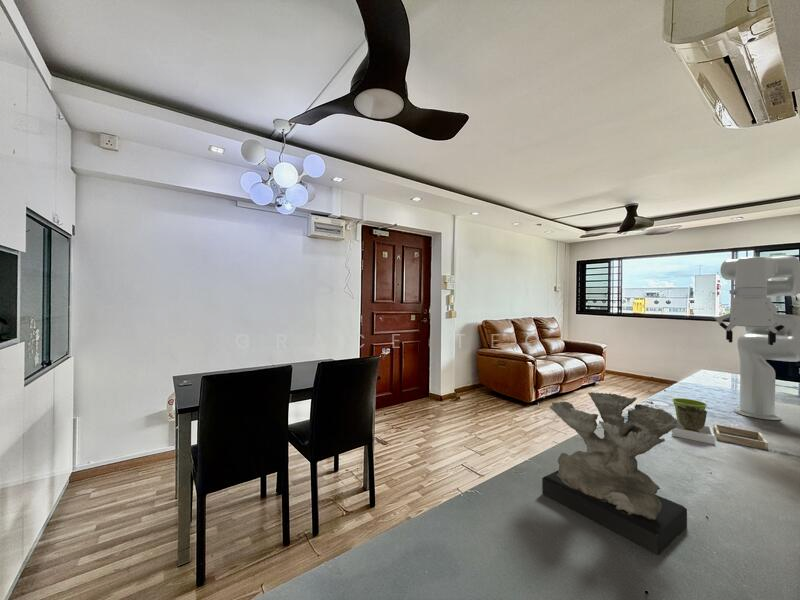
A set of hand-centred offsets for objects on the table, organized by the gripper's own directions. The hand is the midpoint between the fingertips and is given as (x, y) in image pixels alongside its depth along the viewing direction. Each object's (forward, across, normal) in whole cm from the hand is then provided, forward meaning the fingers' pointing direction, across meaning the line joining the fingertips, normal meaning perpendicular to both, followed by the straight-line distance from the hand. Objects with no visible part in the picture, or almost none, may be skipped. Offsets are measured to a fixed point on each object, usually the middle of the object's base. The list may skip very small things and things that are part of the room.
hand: (750, 343), depth 116 cm
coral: (+28, -31, -82) cm, 92 cm away
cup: (+29, -16, -20) cm, 38 cm away
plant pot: (+30, -16, -11) cm, 35 cm away
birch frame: (+29, -4, -14) cm, 33 cm away
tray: (+29, -15, -20) cm, 39 cm away
